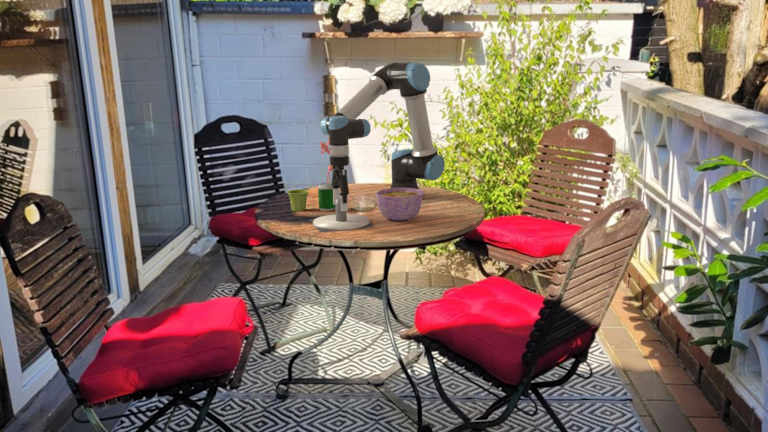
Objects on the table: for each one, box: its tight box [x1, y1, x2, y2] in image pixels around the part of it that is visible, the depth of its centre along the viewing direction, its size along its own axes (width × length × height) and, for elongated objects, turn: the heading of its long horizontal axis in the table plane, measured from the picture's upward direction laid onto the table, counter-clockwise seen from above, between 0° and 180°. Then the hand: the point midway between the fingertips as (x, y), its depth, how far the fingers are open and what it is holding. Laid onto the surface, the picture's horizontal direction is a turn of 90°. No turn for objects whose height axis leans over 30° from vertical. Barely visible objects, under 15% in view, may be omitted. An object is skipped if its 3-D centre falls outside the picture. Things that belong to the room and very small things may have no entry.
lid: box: [312, 197, 371, 231], centre depth 288 cm, size 23×23×10 cm
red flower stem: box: [319, 138, 333, 183], centre depth 336 cm, size 15×26×35 cm, turn 179°
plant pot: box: [286, 189, 309, 213], centre depth 315 cm, size 9×9×9 cm
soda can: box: [317, 182, 336, 212], centre depth 313 cm, size 8×8×12 cm
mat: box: [309, 218, 375, 233], centre depth 290 cm, size 22×22×1 cm
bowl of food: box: [375, 188, 424, 222], centre depth 295 cm, size 20×20×12 cm
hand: (340, 207), depth 288 cm, fingers open, 13 cm apart
